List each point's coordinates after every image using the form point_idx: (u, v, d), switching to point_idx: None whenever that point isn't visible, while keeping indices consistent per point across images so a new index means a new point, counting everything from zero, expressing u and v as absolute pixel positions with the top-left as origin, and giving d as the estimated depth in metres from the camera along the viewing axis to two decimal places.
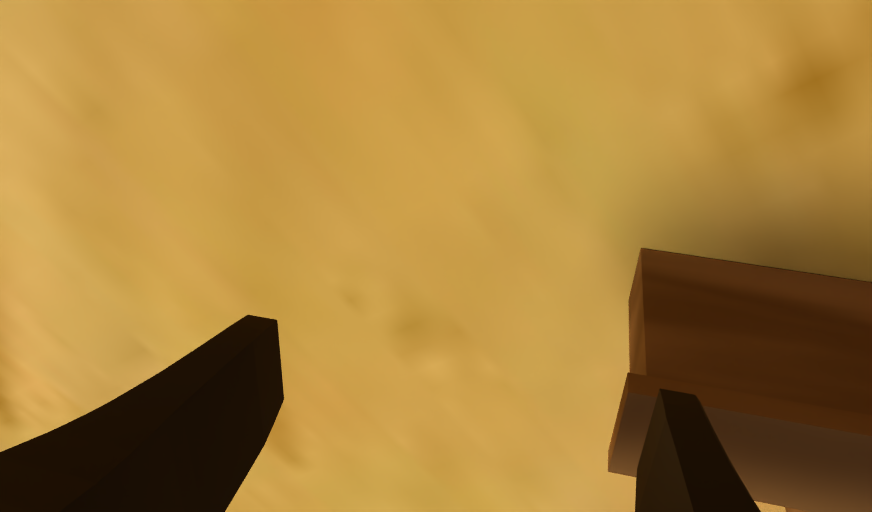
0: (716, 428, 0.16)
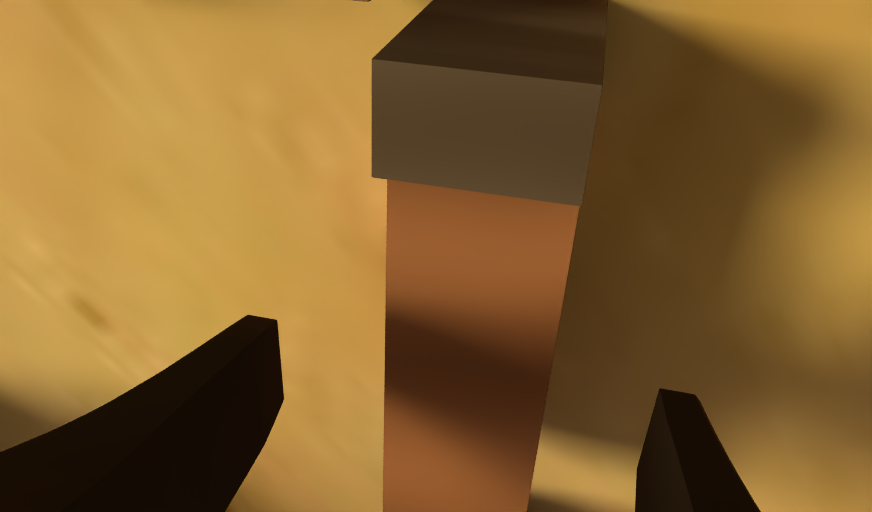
0: None
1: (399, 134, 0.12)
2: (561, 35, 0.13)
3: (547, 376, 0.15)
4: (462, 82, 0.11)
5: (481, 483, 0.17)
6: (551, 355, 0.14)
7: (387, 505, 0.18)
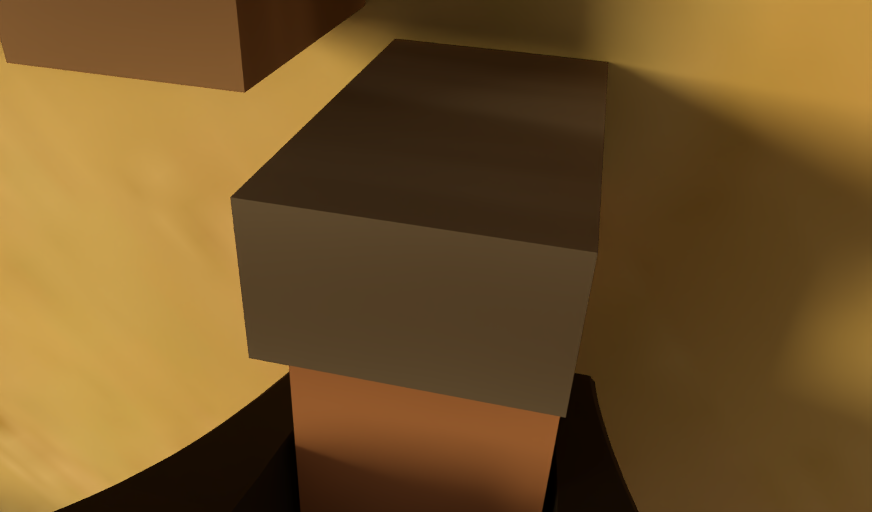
0: None
1: (283, 303, 0.07)
2: (539, 135, 0.09)
3: None
4: (372, 238, 0.07)
5: None
6: None
7: None
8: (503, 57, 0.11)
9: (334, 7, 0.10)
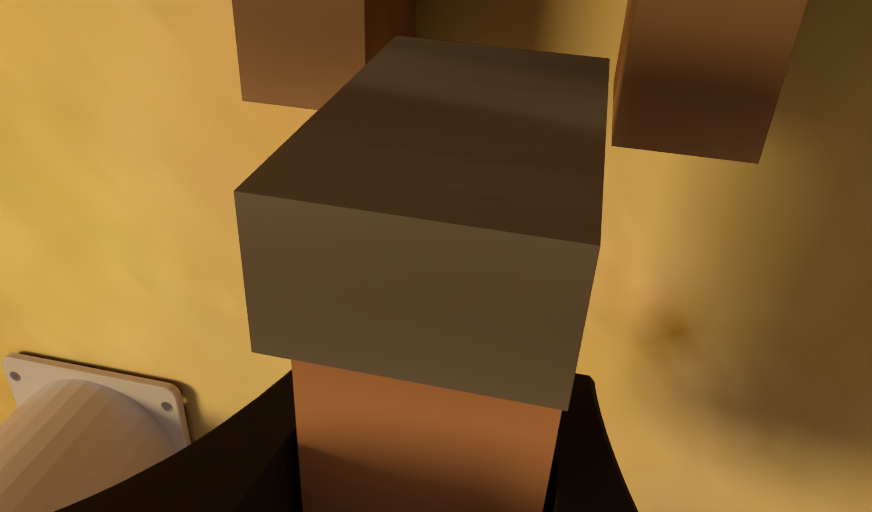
0: None
1: (285, 297, 0.07)
2: (541, 130, 0.09)
3: None
4: (374, 230, 0.07)
5: None
6: None
7: None
8: (504, 53, 0.11)
9: None
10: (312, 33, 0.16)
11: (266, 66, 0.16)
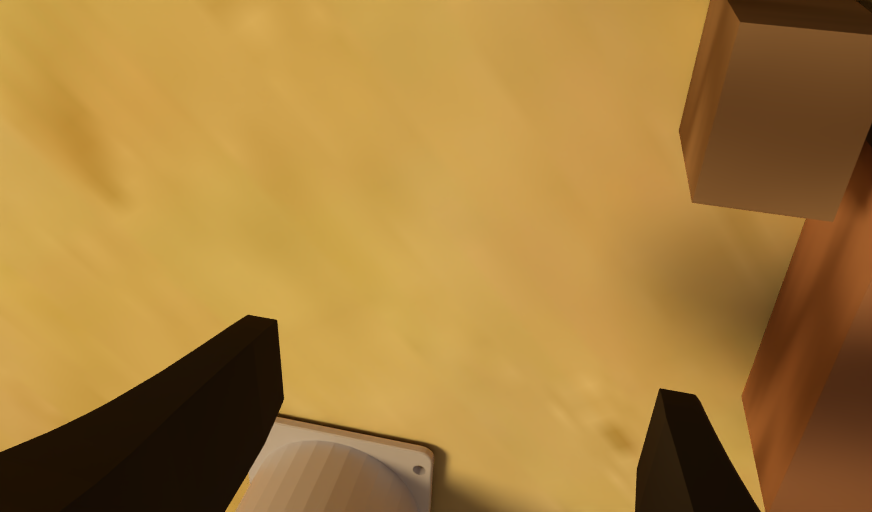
0: None
1: None
2: None
3: None
4: None
5: None
6: None
7: (776, 504, 0.20)
8: None
9: None
10: (800, 141, 0.15)
11: (733, 171, 0.16)
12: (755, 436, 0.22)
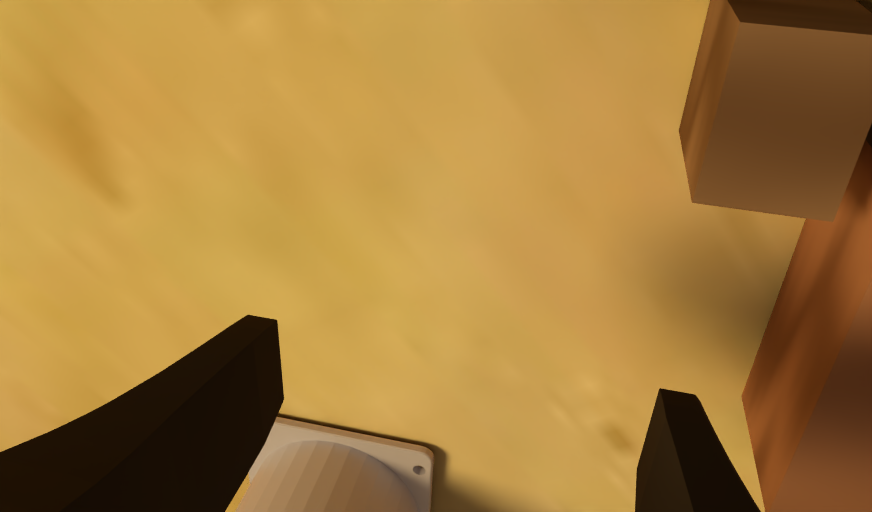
0: None
1: None
2: None
3: None
4: None
5: None
6: None
7: (776, 504, 0.20)
8: None
9: None
10: (800, 141, 0.15)
11: (733, 171, 0.16)
12: (755, 436, 0.22)
